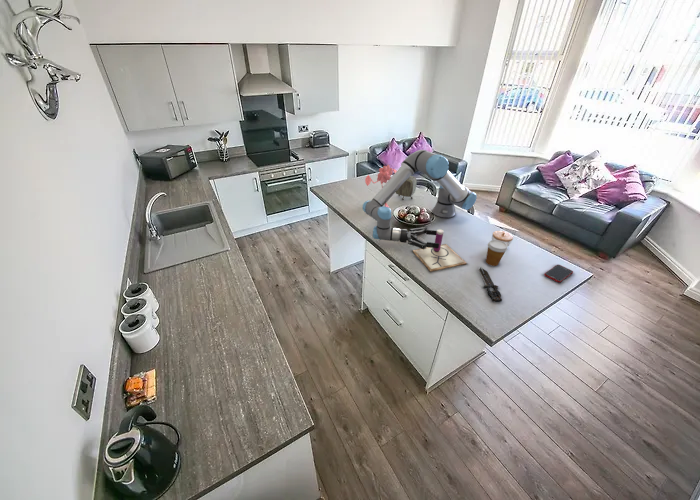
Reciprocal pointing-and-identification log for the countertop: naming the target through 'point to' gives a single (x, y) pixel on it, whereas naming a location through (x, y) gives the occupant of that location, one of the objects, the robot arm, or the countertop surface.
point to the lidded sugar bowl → (502, 237)
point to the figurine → (382, 177)
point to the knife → (491, 286)
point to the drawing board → (439, 258)
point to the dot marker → (438, 239)
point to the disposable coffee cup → (495, 252)
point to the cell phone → (558, 273)
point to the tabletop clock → (407, 187)
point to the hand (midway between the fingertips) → (438, 239)
